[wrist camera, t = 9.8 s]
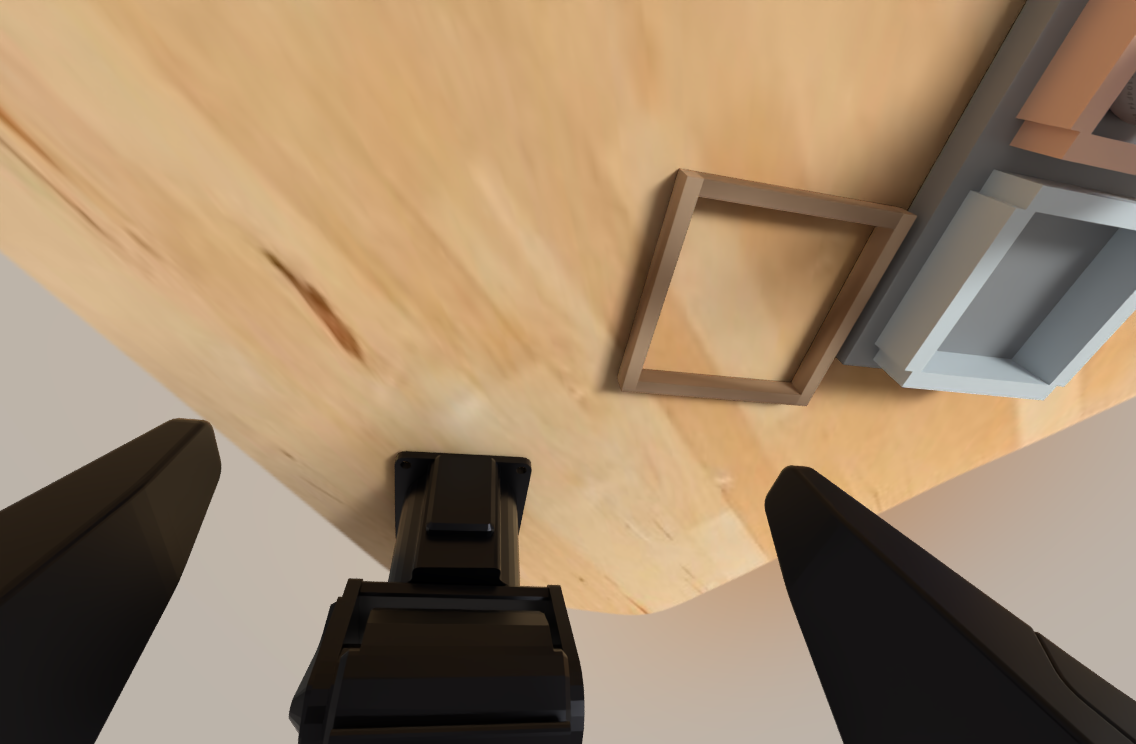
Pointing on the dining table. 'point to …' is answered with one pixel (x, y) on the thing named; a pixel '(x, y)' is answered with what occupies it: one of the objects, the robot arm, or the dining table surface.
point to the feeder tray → (834, 329)
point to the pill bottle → (1126, 102)
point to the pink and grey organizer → (1019, 219)
